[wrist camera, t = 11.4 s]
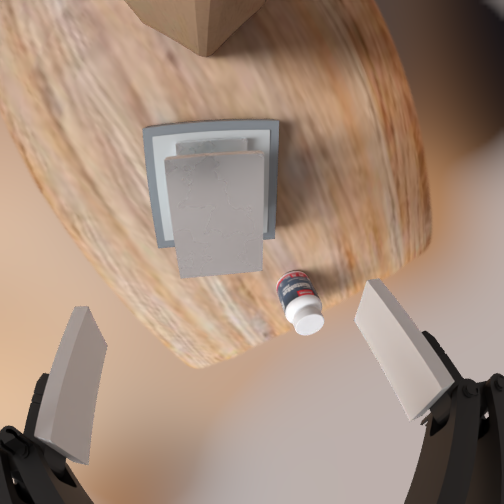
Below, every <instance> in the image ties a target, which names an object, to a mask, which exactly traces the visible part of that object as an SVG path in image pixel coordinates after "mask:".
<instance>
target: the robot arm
mask: <svg viewBox="0 0 504 504" xmlns="http://www.w3.org/2000/svg"><path fill="white" fill-rule="evenodd" d="M354 321H355V323H356V324H357V325H358V328H359V329H360V331H361V333H362V335H363V336H364V338H365V340H366V341H367V343H368V345H369V347H370V348H371V350H372V352H373V354H374V355H375V357H376V359H377V361H378V363H379V364H380V366H381V368H382V370H383V372H384V374H385V375H386V377H387V379H388V381H389V383H390V385H391V386H392V388H393V390H394V392H395V394H396V396H397V398H398V400H399V401H400V403H401V405H402V407H403V409H404V411H405V413H406V415H407V417H408V419H409V421H412V420H414V419H416V418H418V417H420V416H422V415H423V414H424V413H425V412H426V411H427V410H428V409H430V411H431V413H430V414H429V415H428V416H427V417H425V418H424V420H422V422H421V425H423V424H424V423H425V422H427V421H428V422H427V424H426V425H425V426H427V427H426V432H425V437H424V441H423V445H422V449H421V453H420V457H419V461H418V464H417V467H416V471H415V474H414V477H413V480H412V483H411V486H410V489H409V492H408V495H407V497H406V500H405V503H404V504H504V376H503V375H501V374H498V373H496V374H493V376H492V377H491V378H490V379H489V380H488V381H484V382H479V383H476V382H475V381H473V380H471V379H464V378H463V377H462V376H461V375H460V373H459V372H458V370H457V369H456V367H455V366H454V364H453V363H452V362H451V360H450V359H449V357H448V356H447V354H445V351H444V350H443V349H442V347H440V344H439V343H438V342H437V340H436V339H435V338H434V337H433V336H432V335H431V334H430V333H428V332H427V331H423V332H421V331H420V330H419V329H418V327H417V326H416V324H415V323H414V322H413V320H412V319H411V318H410V317H409V315H408V314H407V313H406V311H405V310H404V309H403V307H402V306H401V305H400V303H399V302H398V301H397V300H396V298H395V297H394V296H393V295H392V293H391V292H390V291H389V290H388V288H387V287H386V286H385V285H384V283H383V282H382V281H381V280H380V279H379V278H378V279H371V280H367V282H366V285H365V288H364V292H363V295H362V298H361V301H360V304H359V307H358V310H357V313H356V316H355V319H354ZM106 350H107V343H106V342H105V340H104V338H103V336H102V334H101V332H100V330H99V328H98V326H97V324H96V322H95V320H94V318H93V316H92V313H91V311H90V309H89V307H88V306H80V307H75V308H74V310H73V312H72V315H71V317H70V319H69V322H68V324H67V327H66V329H65V332H64V334H63V337H62V339H61V342H60V345H59V348H58V350H57V353H56V356H55V359H54V362H53V365H52V368H51V371H50V374H46V373H43V374H42V376H41V377H40V379H39V380H38V381H37V383H36V387H35V390H34V395H33V397H32V403H31V404H30V408H29V412H28V416H27V420H26V425H25V429H24V433H23V434H22V433H21V432H20V431H18V430H17V429H16V428H14V427H13V426H5V427H4V428H3V429H2V430H1V431H0V504H94V503H93V502H92V501H91V499H90V498H89V496H88V495H87V493H86V492H85V490H84V489H83V488H82V486H81V485H80V483H79V482H78V480H77V478H76V477H75V475H74V474H73V472H72V471H71V469H70V467H69V466H68V464H67V463H66V458H68V459H69V460H71V461H73V462H76V463H80V464H85V465H89V454H90V442H91V434H92V425H93V418H94V412H95V405H96V399H97V394H98V388H99V382H100V378H101V373H102V368H103V363H104V358H105V355H106ZM486 412H488V413H489V417H488V418H487V419H486V418H485V416H484V414H486ZM12 478H14V481H15V483H13V480H12Z"/></svg>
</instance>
